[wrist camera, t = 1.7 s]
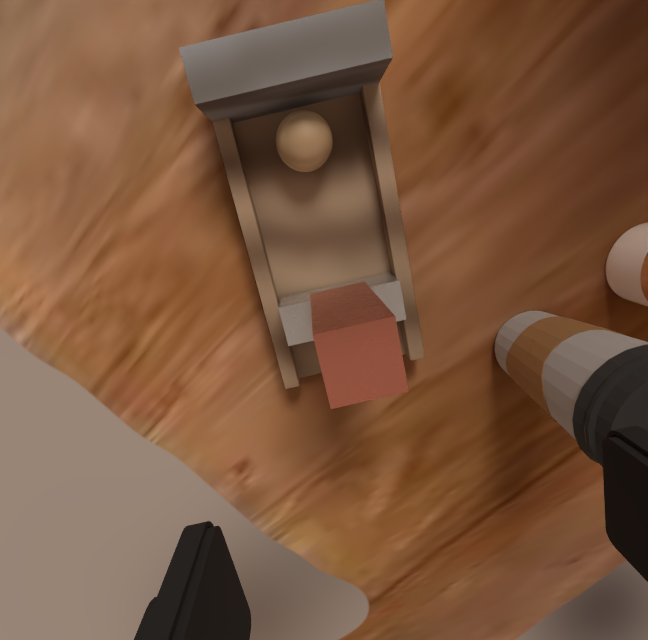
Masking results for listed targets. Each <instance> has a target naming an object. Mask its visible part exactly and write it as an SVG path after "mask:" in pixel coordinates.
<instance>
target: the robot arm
mask: <svg viewBox="0 0 648 640" xmlns="http://www.w3.org/2000/svg"><path fill="white" fill-rule="evenodd" d="M602 451H603V475H604V498H605V521H606V532H607V535H608V537H609V539H610V541H611V543H612V544H613V545H614V547H615V548H616V549H617V550H618V551H619V552H620V553H621V554H622V555H623V556H624V557H625V558H626V559H627V561H628V562H629V563H630V564H631V565H632V566H633V567H634V568H635V569H636V570H637V571H638V572H639V573H640V574H641V575H642V576H643V577H644V578H645V580H646V581H648V431H647V430H645V429H643V428H642V427H639V426H634V425H633V426H629V427H625V428H620V429H616V430H612V431H609V432H608V434H607V438H606V439H604V440H603V442H602ZM250 631H251V614H250V609H249V606H248V603H247V600H246V597H245V595H244V592H243V589H242V586H241V583H240V581H239V578H238V575H237V572H236V569H235V566H234V564H233V561H232V558H231V555H230V553H229V550H228V547H227V544H226V541H225V538H224V536H223V533H222V531H221V528H220V527H219V526H215V527H214V526H213V524H212V523H211V522H210V521H207V522H203V523H199V524H194V525H189V526H186V527H185V528H184V530H183V532H182V534H181V537H180V539H179V542H178V545H177V547H176V550H175V552H174V555H173V557H172V560H171V562H170V565H169V567H168V570H167V573H166V575H165V578H164V580H163V583H162V585H161V588H160V591H159V593H158V596H157V597H155V598H154V599H153V600H152V601H151V602H150V603H149V605H148V607H147V609H146V611H145V614H144V616H143V619H142V621H141V624H140V626H139V628H138V631H137V633H136V636H135V638H134V640H249V638H250Z"/></svg>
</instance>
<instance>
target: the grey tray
mask: <svg viewBox="0 0 648 640" xmlns="http://www.w3.org/2000/svg"><path fill="white" fill-rule="evenodd" d="M179 50H180V53H181V57H182V60H183V64H184V67H185V71H186V75H187V78H188V82H189V85H190V89H191V92H192V96H193V99H194V103H195V105H196V106H197V107H198V108H199V109H200V110H201V111H202V112H203V113H204V114H205V115H206V116H207V117H208V118H209V119H210V120H211V121H212V123H213V126H214V130H215V134H216V137H217V141H218V145H219V148H220V152H221V156H222V159H223V163H224V167H225V170H226V174H227V178H228V181H229V185H230V189H231V192H232V196H233V199H234V203H235V207H236V210H237V214H238V218H239V221H240V225H241V229H242V232H243V236H244V240H245V243H246V247H247V251H248V254H249V258H250V262H251V265H252V269H253V272H254V276H255V280H256V283H257V287H258V291H259V294H260V298H261V302H262V305H263V309H264V313H265V316H266V320H267V324H268V327H269V331H270V335H271V338H272V342H273V345H274V349H275V353H276V356H277V360H278V364H279V367H280V371H281V375H282V378H283V382H284V386H285V389H288V388H292V387H297V386H299V381H300V378H303V377H307V376H312V375H316V374H321V373H322V371H321V367H320V363H319V359H318V355H317V351H316V347H315V343H314V341H309V342H305V343H301V344H296V345H292V346H288V343H287V339H286V335H285V331H284V328H283V324H282V320H281V316H280V312H279V309H278V308H279V304H280V301H281V298H282V297H284V296H288V295H293V294H297V293H301V292H306V291H310V290H314V289H319V288H323V287H327V286H332V285H336V284H340V283H345V282H349V281H353V280H358V279H362V278H366V277H371V276H375V275H380V274H384V273H390V274H391V275H393V276H394V277H396V278H397V279H399V280H400V285H401V291H402V296H403V302H404V308H405V314H406V320H402V321H397V322H396V323H397V328H398V334H399V339H400V345H401V351H402V355H405V354H406V355H407V356H408V358H409V359H410V360H411V361H412V360H416V359H421V358H425V356H424V350H423V344H422V338H421V332H420V326H419V320H418V314H417V308H416V302H415V295H414V289H413V283H412V277H411V271H410V265H409V259H408V253H407V247H406V241H405V235H404V229H403V223H402V217H401V211H400V205H399V199H398V192H397V186H396V180H395V174H394V168H393V162H392V156H391V150H390V144H389V138H388V132H387V126H386V120H385V114H384V108H383V102H382V96H381V89H380V83H379V82H380V80H381V78H382V76H383V74H384V72H385V71H386V69H387V67H388V65H389V63H390V62H391V60H392V58H393V55H392V49H391V42H390V36H389V29H388V23H387V16H386V10H385V3H384V0H375V1H370V2H366V3H362V4H358V5H354V6H350V7H346V8H341V9H337V10H333V11H329V12H325V13H321V14H316V15H312V16H308V17H304V18H300V19H296V20H292V21H287V22H283V23H279V24H275V25H271V26H267V27H262V28H258V29H254V30H250V31H246V32H242V33H238V34H233V35H229V36H225V37H221V38H217V39H213V40H208V41H204V42H200V43H196V44H192V45H188V46H184V47H179ZM297 110H310V111H313V112H315V113H317V114H319V115H320V116H321V117H323V119H324V120H325V121H326V122H327V124H328V125H329V127H330V130H331V133H332V139H333V144H332V150H331V153H330V156H329V158H328V159H327V161H326V162H325V163H324V164H323V165H322V166H321V167H319V168H318V169H316V170H313V171H310V172H300V171H296V170H294V169H292V168H290V167H289V166H288V165H286V164H285V163H284V162H283V160H282V159H281V157H280V155H279V153H278V150H277V146H276V134H277V130H278V127H279V125H280V123H281V122H282V121H283V119H284V118H285V117H286V116H287V115H289V114H290V113H292V112H294V111H297Z"/></svg>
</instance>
